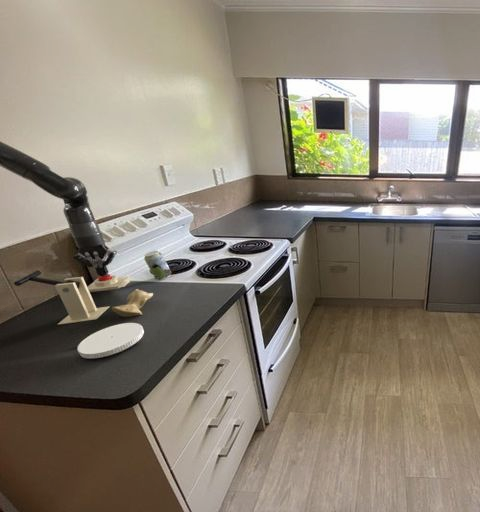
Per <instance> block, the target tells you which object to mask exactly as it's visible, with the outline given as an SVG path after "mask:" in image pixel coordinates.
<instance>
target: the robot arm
mask: <svg viewBox="0 0 480 512" xmlns="http://www.w3.org/2000/svg"><path fill="white" fill-rule="evenodd" d="M0 167H1V168H2V169H5V170H6V171H9V172H11V173H12V174H15V175H17V176H18V177H20V178H23V179H25V180H27V181H29V182H30V183H33V184H34V185H35V186H36V187H38V188H39V189H41V190H43V191H44V192H46V193H47V194H49V195H51V196H53V197H54V198H57V199H60V200H62V201H63V203H64V207H63V210H62V211H63V215H64V217H65V219H66V221H67V225H68V227H69V228H68V229H69V231H70V234H71V236H72V238H73V240H74V243H75V246H76V247H77V248H78V251H77V252H78V253H77V254H76V255H74V256H72V258H73V259H74V260H75V261H77V262H79V263H81V264H82V265H84V266H86V267H87V268H93V269H95V272H96V274H97V275H98V276H106V275H107V274H109V269H108V267H107V266H109V265H110V264H111V263H112V262H113V260H114V258H115V256H116V255H117V253H118V251H117V250H111V249H109V247H108V246H107V245H106V241H105V239H104V237H103V234H102V231H101V229H100V226H99V225H98V222H97V221H96V219H95V216H94V213H93V211H92V209H91V205H90V199H89V194H88V190H87V188H86V186H85V185H84V183H83V182H82V181H81V180H79V179H78V178H76V177H71V176H70V177H69V176H65V177H63V176H61V175H59V174H58V173H56V172H54V171H52V169H51V167H50V166H48V165H47V164H45V163H43V162H42V161H40V160H39V159H36V158H34V157H32V156H31V155H28V154H27V153H25V152H23V151H21V150H19V149H17V148H15V147H13V146H11V145H9V144H7V143H6V142H3V141H0Z"/></svg>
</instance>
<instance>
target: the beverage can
mask: <svg viewBox="0 0 480 512" xmlns="http://www.w3.org/2000/svg"><path fill="white" fill-rule="evenodd" d="M143 259H144V262H145V263H146V265H147V267H148V268H149V270H150V271H151V273H152V275H153V277H154V278H155V280H159V281H160V280H165V279H168V278H169V277H170V276H171V275H172V274H173V272H172V270H171V269H170V266H169V265H168V262H167V261H166V259H165V257H164V256H163V253H161V251H160V252H159V250H152V251H149V252H147V253H145V254H144V258H143Z"/></svg>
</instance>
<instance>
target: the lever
mask: <svg viewBox="0 0 480 512" xmlns="http://www.w3.org/2000/svg"><path fill="white" fill-rule="evenodd" d="M41 274H42V271H40V270H35V271H33V272H31V273H29V274H27V275H25V276H23V277H21V278H20V279H17V280H16V281H14V282H13V285H14V286H16V287H19V286H22V285H24V284H25V283H27V282H34V283H35V282H36V283H41V284H46V285H51V286H55V285H57V284H63V283H72V282H75V281H70V280H68V281H67V282H64V281H59V280H54V279H49V278H43V277H39V276H40V275H41ZM75 284H76V286H77V288H78V289H79V285H80V282H75Z"/></svg>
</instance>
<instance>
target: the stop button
mask: <svg viewBox="0 0 480 512" xmlns="http://www.w3.org/2000/svg"><path fill="white" fill-rule="evenodd" d="M97 279H99V281H100V282H101V281H107V280H110V279H112V278H111V274H110V273H108V274H107V275H106V276H100V275H98V276H97Z"/></svg>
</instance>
